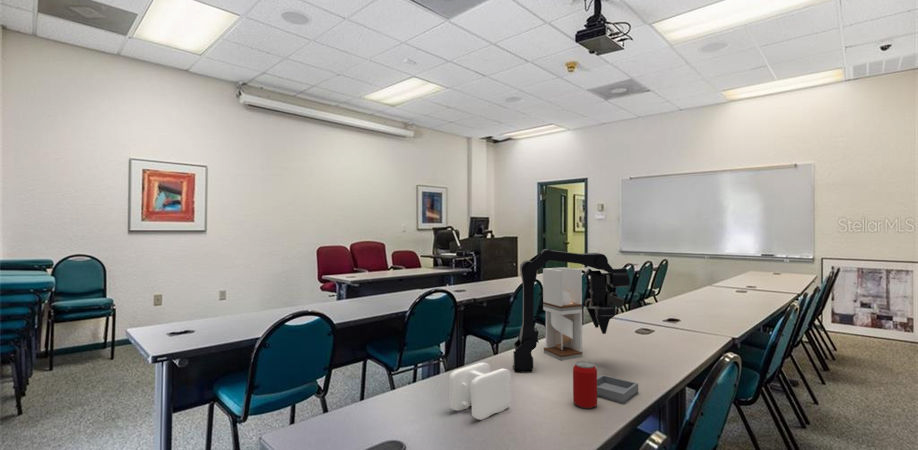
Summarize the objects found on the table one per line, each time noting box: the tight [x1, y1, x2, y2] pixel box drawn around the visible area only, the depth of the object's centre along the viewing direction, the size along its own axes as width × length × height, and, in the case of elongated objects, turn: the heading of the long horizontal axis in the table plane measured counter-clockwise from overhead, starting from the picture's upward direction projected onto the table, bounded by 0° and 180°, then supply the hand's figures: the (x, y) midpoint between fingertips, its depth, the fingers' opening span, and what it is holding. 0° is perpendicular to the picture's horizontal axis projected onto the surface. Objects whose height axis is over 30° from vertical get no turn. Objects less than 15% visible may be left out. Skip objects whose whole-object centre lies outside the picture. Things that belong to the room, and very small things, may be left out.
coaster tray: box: [597, 374, 639, 405], centre depth 130 cm, size 12×12×3 cm
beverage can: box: [572, 360, 598, 409], centre depth 122 cm, size 7×7×12 cm
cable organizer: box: [448, 361, 511, 421], centre depth 119 cm, size 15×11×12 cm
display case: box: [542, 267, 583, 361], centre depth 170 cm, size 11×11×35 cm
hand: (600, 330), depth 151 cm, fingers open, 9 cm apart
